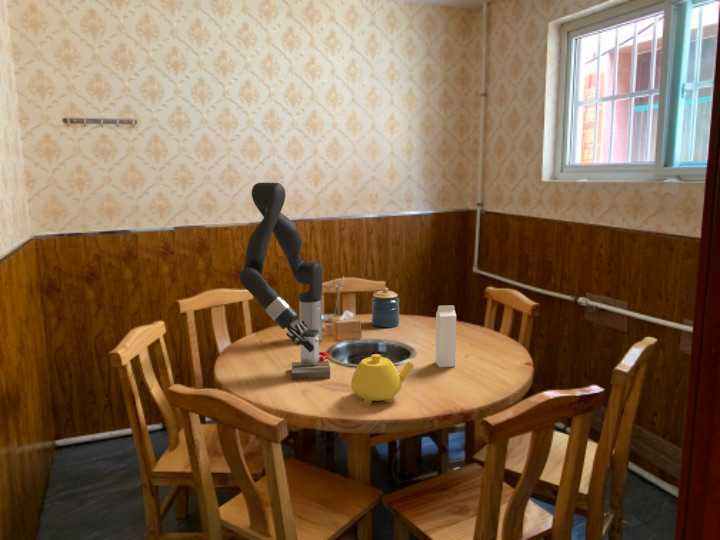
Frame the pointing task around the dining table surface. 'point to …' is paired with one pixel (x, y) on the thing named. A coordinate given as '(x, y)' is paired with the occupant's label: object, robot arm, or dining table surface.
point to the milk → (446, 336)
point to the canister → (385, 309)
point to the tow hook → (322, 353)
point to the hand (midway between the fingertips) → (314, 347)
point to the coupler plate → (310, 370)
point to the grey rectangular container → (314, 341)
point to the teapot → (378, 379)
